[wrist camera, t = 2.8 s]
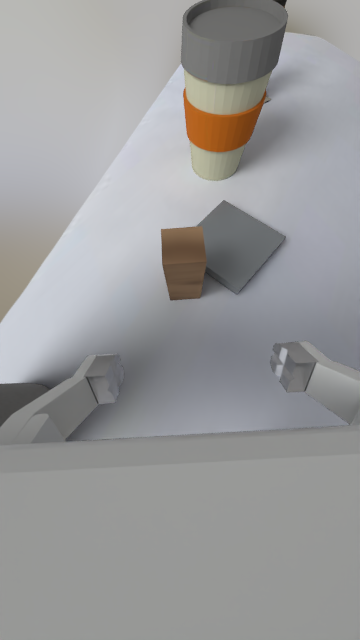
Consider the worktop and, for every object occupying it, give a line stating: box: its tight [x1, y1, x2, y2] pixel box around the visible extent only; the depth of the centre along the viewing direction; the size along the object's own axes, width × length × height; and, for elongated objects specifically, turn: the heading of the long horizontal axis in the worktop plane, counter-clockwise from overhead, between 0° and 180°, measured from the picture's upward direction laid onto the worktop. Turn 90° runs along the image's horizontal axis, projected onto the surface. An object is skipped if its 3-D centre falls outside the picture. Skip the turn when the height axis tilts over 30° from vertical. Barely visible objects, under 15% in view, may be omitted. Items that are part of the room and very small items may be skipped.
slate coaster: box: [196, 200, 285, 294], centre depth 28 cm, size 12×12×2 cm
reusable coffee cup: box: [181, 0, 288, 181], centre depth 27 cm, size 12×13×15 cm
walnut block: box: [161, 226, 207, 300], centre depth 23 cm, size 4×4×9 cm
